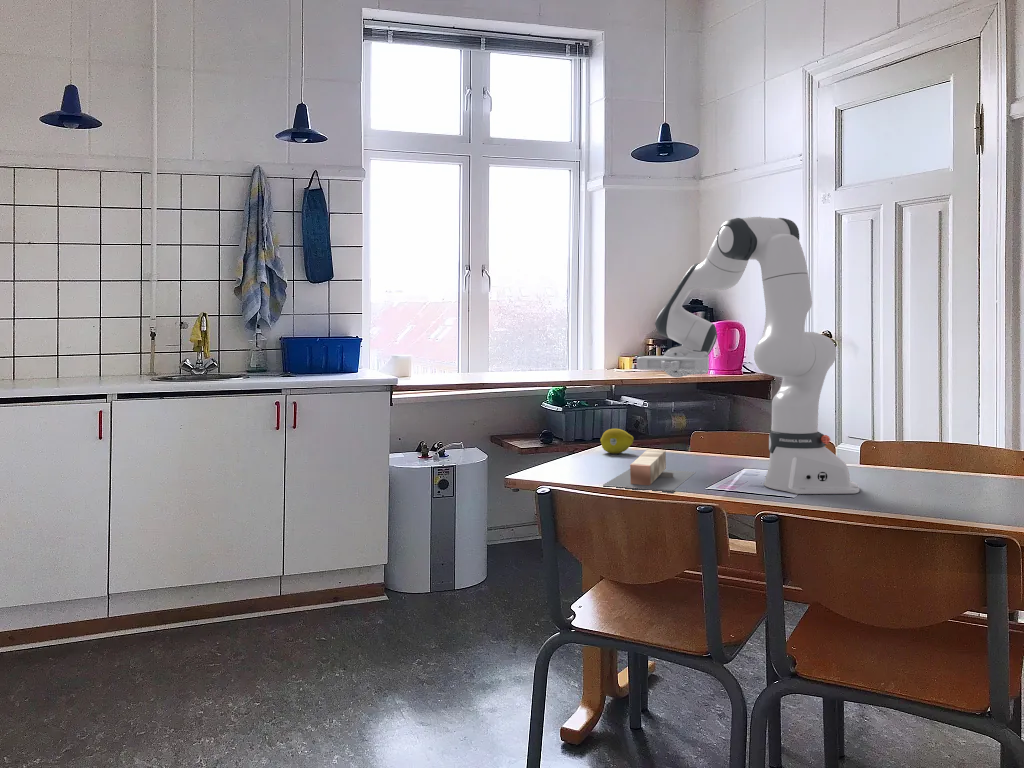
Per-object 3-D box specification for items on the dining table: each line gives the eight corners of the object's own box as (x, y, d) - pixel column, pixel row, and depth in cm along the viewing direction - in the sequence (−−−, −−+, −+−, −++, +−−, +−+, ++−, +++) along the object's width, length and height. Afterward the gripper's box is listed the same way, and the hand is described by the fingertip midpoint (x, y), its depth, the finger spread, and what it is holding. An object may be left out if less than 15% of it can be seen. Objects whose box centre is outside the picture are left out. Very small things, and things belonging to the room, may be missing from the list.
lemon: (595, 453, 263) (595, 428, 263) (606, 450, 270) (606, 426, 269) (626, 456, 257) (626, 431, 256) (637, 453, 264) (637, 428, 263)
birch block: (647, 449, 225) (630, 464, 210) (665, 450, 223) (649, 466, 208) (647, 467, 225) (630, 483, 211) (665, 468, 223) (649, 485, 209)
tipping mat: (632, 470, 234) (632, 463, 234) (696, 474, 227) (696, 467, 226) (603, 487, 211) (603, 480, 210) (673, 493, 203) (673, 485, 203)
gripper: (643, 350, 246) (630, 353, 234) (713, 351, 238) (703, 354, 225) (643, 371, 247) (630, 375, 234) (712, 373, 239) (703, 377, 226)
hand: (667, 365), depth 230 cm, fingers closed
